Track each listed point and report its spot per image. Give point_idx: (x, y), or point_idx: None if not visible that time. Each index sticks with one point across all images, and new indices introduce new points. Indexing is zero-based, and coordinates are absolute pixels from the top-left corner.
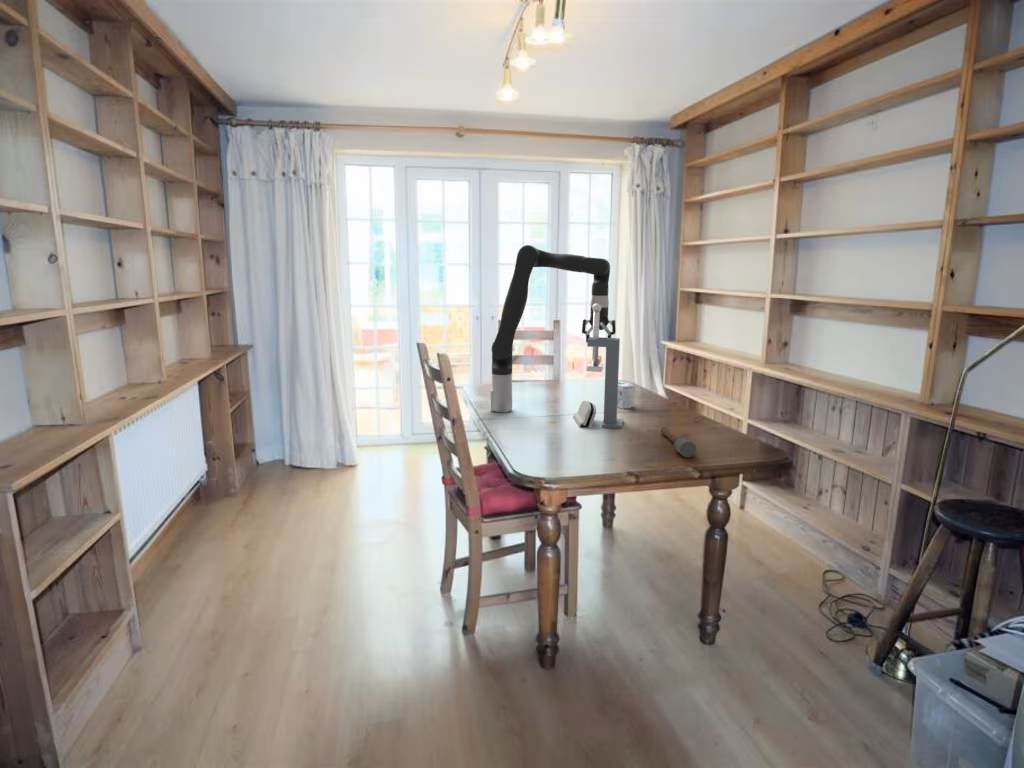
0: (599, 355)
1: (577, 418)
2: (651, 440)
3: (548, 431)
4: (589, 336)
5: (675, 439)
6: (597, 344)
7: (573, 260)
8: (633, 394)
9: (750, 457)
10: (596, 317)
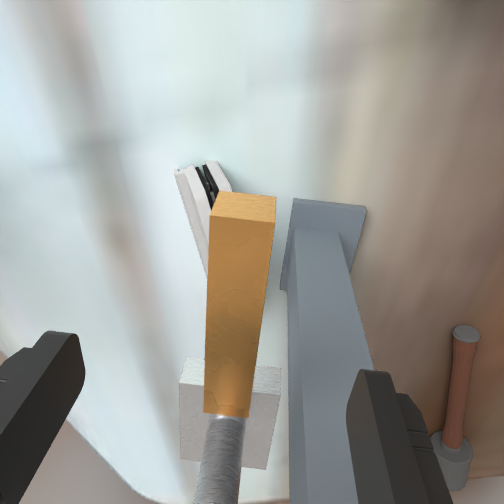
0: (252, 226)
1: (195, 239)
2: (402, 372)
3: (131, 325)
4: (18, 464)
5: (449, 430)
6: None
7: None
8: None
9: None
10: None
